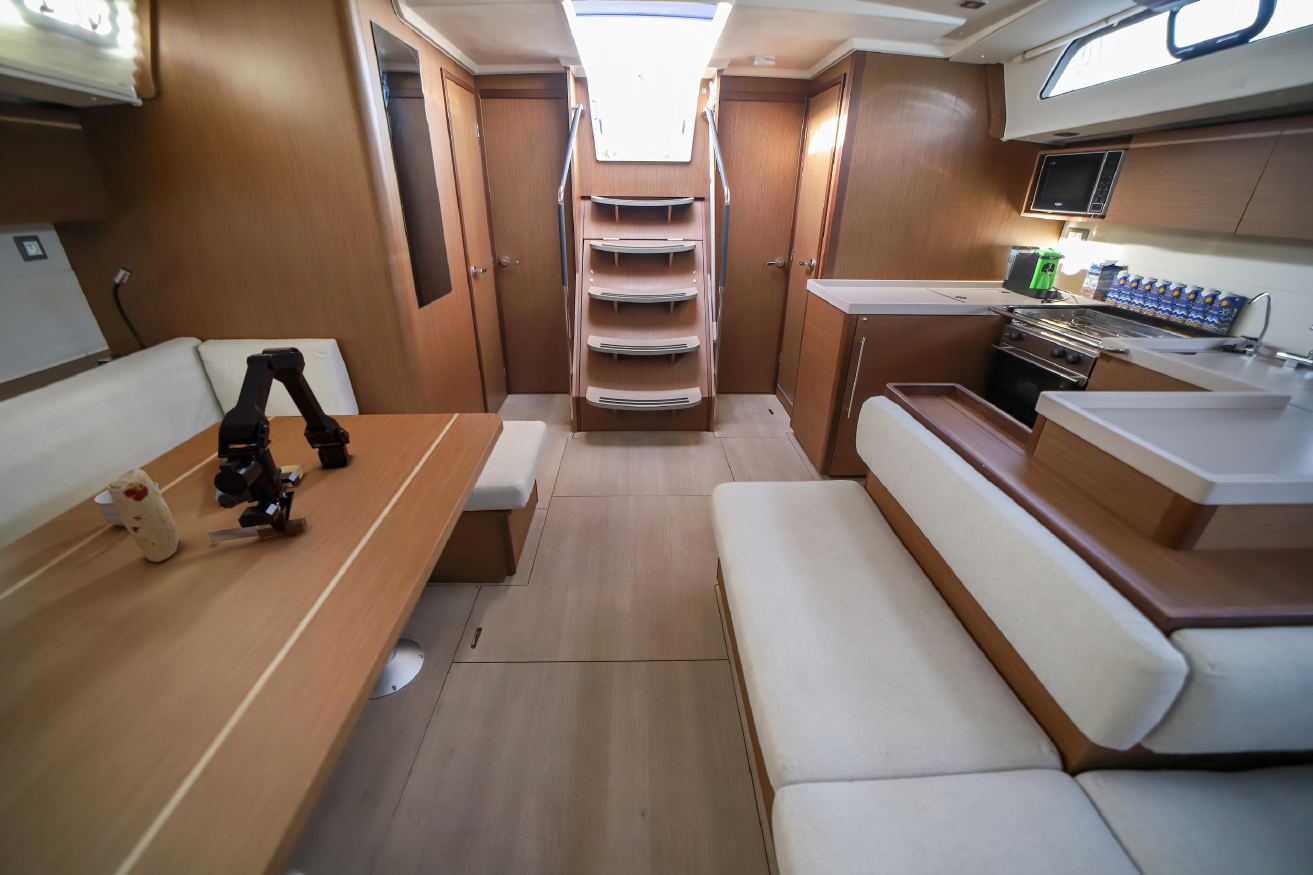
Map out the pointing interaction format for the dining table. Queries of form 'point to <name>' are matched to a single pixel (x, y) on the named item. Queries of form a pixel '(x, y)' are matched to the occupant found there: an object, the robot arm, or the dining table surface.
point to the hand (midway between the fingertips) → (283, 528)
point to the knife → (257, 531)
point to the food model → (145, 514)
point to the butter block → (292, 468)
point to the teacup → (110, 507)
